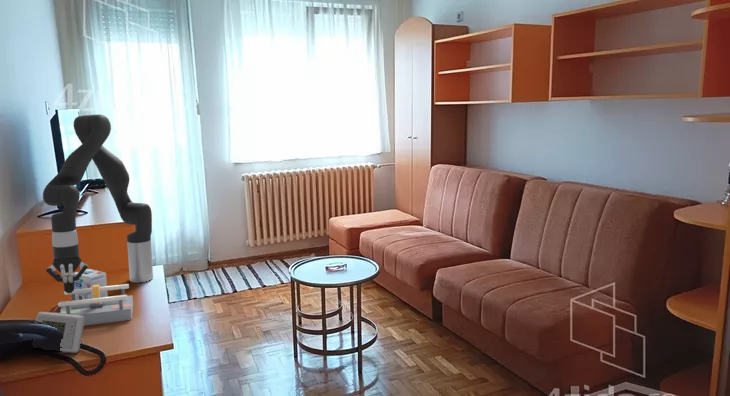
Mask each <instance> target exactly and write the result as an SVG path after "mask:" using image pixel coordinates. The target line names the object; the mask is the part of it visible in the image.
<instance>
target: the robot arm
mask: <svg viewBox="0 0 730 396" xmlns="http://www.w3.org/2000/svg"><path fill="white" fill-rule="evenodd" d="M73 129H74V133H75V135H76V137H77V138H78V140H79V141H80V143H81V145H79V146H78V147H77V148H76V149H74V150H73V151H72V152H71V153H70V154H69V155H68V156H67V158H66V159H65V161H63V164H62V166H61V169H60V170H59V172H58V173H57V174H56V175H55V176H54V177H53V178H51V180H50V181H49V182H48V183H47V185H46V186H45V187H44V190H43V192H42V199H43V201H44V203H45V204H46V205H49V206H54V207H60V206H61V207H63V210H62V211H61V212H55V213H53V214H52V215H51V221H50V223H51V231H52V235H51V245H52V254H53V261H52V264H51V265H50V266H48V267H47V268H46V269H45V272H46V273H47V274H48V275H50V276H51V277H52V278H53V279H54V280H55V281H56V282H58V283H63V289H64V290H63V292H64V291H65V292H67V293H72V291H74V289H75V287H74V281H76V280H78V279H79V278H80V277H81V275H82V274H83V273H84V272H85V270H86V269H88V268H89V264H88V263H85V262H83V261H82V259H81V257H80V248H79V247H80V246H79V237H78V232H77V231H78V230H77V223H76V217H77V216H76V215H77V210H78V206H79V203H80V195H81V194H80V191H79V189H78V188H77V187H76V186H77V185H78V184H80V183H81V181H82V180H83V178H84V175H85V173H86V170H87V169H88V166H89V165H90V163H91V162H92V161H93V162H94V165H95V167H96V168H97V170H98V172H99V174H100V176H101V178H102V181H103V182H104V184H105V185H106V187H107V189H108V191H109V193H110V195H111V197H112V199H113V202H114V204H115V206H116V209H117V212H118V214H119V217H120V219H121V220H122V222H123V223H125V224H127V225H133V226H135V227H136V228H135V231H133V232H130V233H128V234H127V236H126V243H127V245H126V246H127V257H128V271H129V282H131V283H138V284H139V283H140V282H141V283H147V282H149V280H150V281H152V280H153V279H154V270H153V269H154V267H153V251H152V238H151V237H152V233H153V213H152V209H151V206H150V205H149V204H148V203H143V202H133V201H132V199H131V198H130V196H129V193H128V189H129V185H130V174H129V171H127V168H126V167H125V164H124V163H123V161H122V160H121V159H120V158H119V157H118V156H116V155H115V154H114V153H112V152H111V151H110V150H108V149H107V148H105V146H104V145H103V144H104V143H105V142H106V141H107V140H108V138H109V136H110V135H111V130H112V124H111V121H110V119H109V118H108V117H107V116H106V115H104V114H86V115H80V116H76V117H75V119H74V121H73ZM79 266H80V267H79ZM78 268H79V269H80V270H79V271H77V272H78V274H77V275H76V276H74V273H75V272H76V270H77V269H78ZM56 270H57V271H58V272H59V273H61V275H60V274H59V273H58V272H57V271H56ZM152 278H153V279H152ZM151 279H152V280H151ZM146 281H147V282H146Z"/></svg>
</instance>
